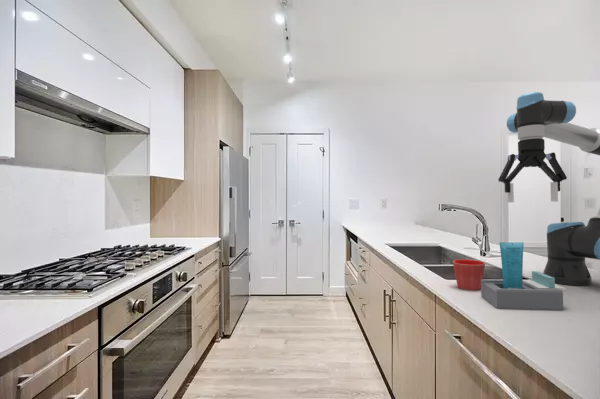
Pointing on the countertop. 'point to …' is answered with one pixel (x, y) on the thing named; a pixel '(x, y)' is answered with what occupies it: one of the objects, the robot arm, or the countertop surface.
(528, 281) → the panel
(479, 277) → the flower pot
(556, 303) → the socket
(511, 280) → the tube
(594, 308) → the countertop surface
